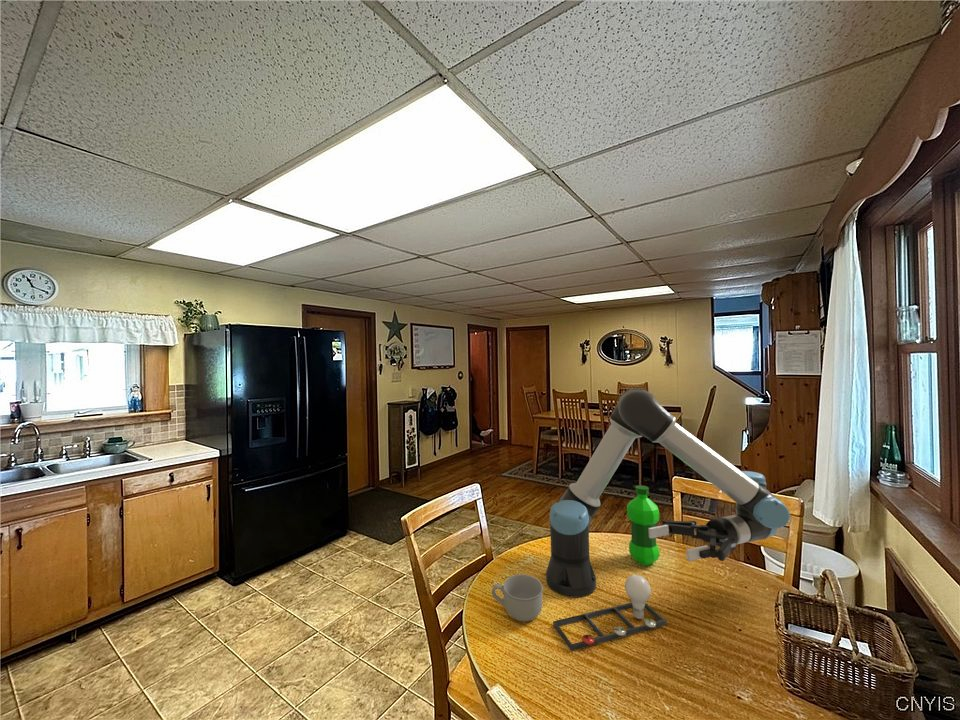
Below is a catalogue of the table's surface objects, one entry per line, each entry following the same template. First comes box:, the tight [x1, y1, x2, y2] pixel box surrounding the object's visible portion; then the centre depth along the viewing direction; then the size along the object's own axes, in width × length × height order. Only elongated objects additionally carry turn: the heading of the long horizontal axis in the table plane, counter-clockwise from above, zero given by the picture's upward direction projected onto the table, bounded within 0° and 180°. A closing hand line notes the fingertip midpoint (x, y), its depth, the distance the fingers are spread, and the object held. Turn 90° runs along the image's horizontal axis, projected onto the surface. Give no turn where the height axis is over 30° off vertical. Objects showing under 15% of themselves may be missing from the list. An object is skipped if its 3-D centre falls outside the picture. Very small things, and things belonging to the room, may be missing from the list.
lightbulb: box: [624, 574, 652, 620], centre depth 100 cm, size 6×6×11 cm
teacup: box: [491, 573, 544, 622], centre depth 103 cm, size 14×11×8 cm
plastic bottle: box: [626, 485, 660, 566], centre depth 129 cm, size 10×10×25 cm
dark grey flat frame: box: [552, 602, 667, 652], centre depth 97 cm, size 10×28×2 cm, turn 107°
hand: (667, 543), depth 103 cm, fingers open, 13 cm apart
